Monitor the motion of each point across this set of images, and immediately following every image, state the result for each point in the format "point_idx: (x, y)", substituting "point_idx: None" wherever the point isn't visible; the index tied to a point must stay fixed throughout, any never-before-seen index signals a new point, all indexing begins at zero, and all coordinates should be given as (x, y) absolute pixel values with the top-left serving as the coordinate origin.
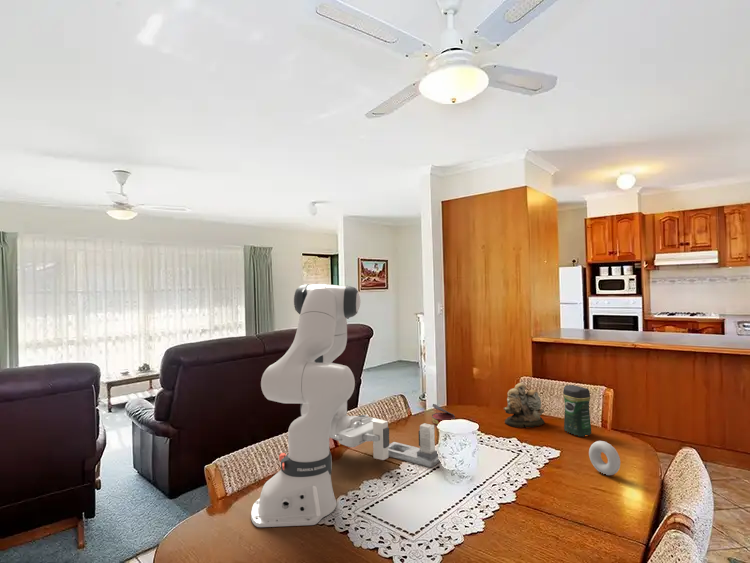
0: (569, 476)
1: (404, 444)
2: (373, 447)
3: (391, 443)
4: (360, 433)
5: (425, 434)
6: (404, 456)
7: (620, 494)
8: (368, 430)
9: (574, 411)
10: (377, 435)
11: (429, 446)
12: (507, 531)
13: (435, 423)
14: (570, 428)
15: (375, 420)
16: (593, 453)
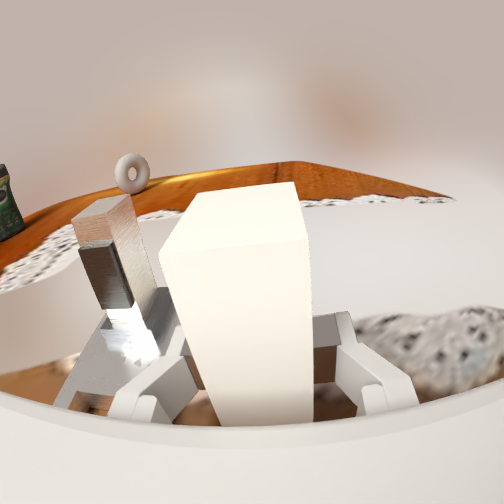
0: (153, 200)
1: None
2: None
3: None
4: (489, 385)
5: (129, 235)
6: None
7: (187, 179)
8: (318, 423)
9: (8, 197)
10: (324, 320)
11: (149, 269)
12: (350, 186)
13: None
14: (10, 226)
15: (235, 244)
16: (126, 174)
